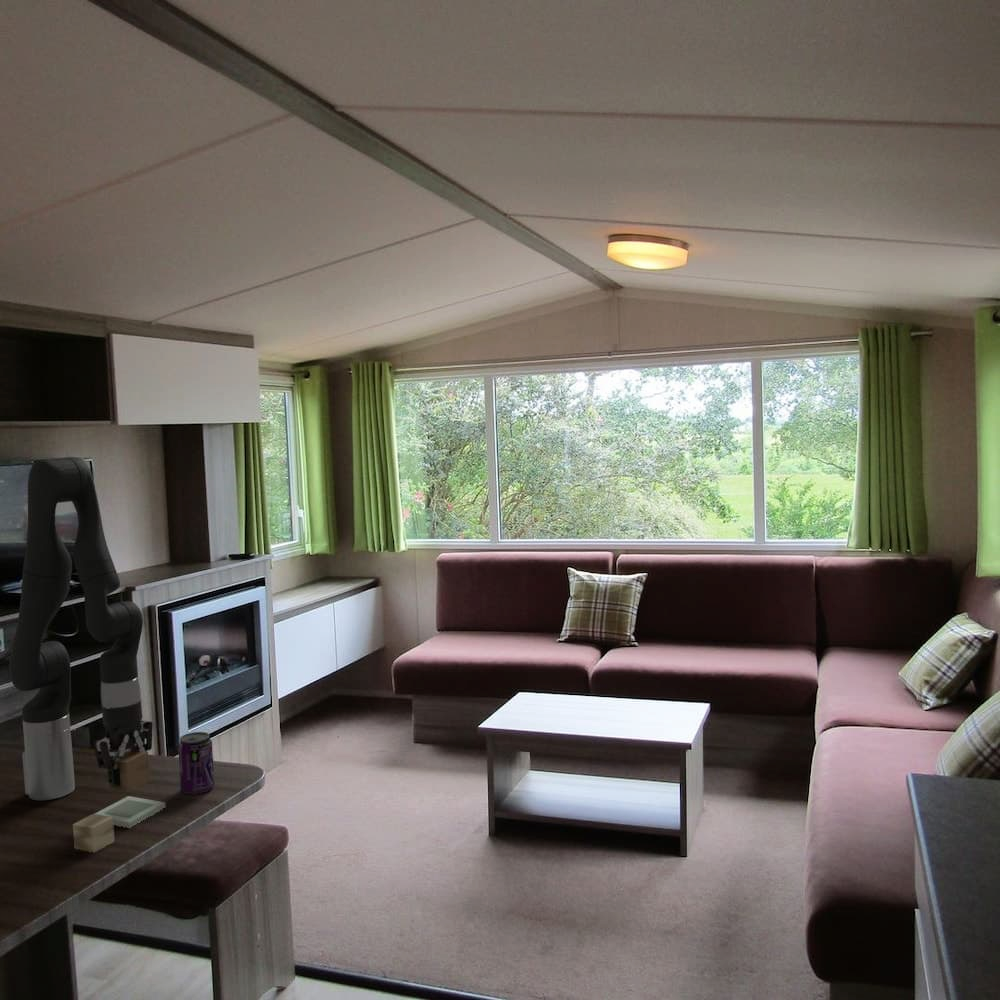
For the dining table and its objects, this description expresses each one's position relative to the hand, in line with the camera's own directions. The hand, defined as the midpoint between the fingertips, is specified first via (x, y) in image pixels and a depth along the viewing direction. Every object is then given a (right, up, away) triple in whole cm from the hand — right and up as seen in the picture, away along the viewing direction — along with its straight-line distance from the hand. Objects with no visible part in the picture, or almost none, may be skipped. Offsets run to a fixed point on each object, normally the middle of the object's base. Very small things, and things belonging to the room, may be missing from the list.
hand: (127, 779), depth 194 cm
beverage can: (+11, -6, +13) cm, 18 cm away
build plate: (0, -7, +1) cm, 8 cm away
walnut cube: (0, -1, 0) cm, 1 cm away
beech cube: (-1, -9, -13) cm, 16 cm away
